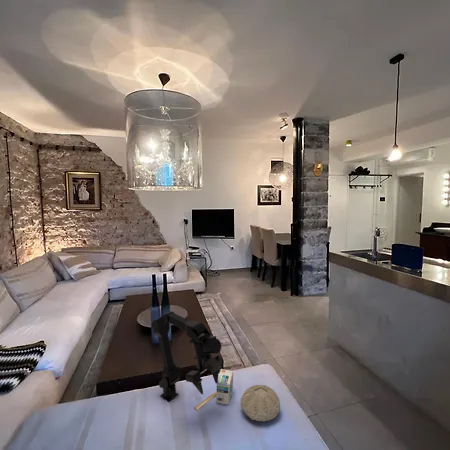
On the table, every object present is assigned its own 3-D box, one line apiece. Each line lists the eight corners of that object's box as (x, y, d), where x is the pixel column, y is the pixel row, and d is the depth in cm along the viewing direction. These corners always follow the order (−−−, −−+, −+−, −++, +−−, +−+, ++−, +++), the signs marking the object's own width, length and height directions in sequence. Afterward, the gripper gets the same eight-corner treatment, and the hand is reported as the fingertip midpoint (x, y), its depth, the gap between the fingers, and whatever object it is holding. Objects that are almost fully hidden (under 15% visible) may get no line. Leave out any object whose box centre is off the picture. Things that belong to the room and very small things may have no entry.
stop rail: (194, 408, 128) (194, 407, 128) (229, 381, 148) (229, 380, 148) (197, 410, 127) (197, 409, 127) (232, 382, 146) (232, 381, 146)
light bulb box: (229, 405, 130) (230, 384, 129) (215, 403, 131) (216, 382, 130) (232, 390, 140) (233, 370, 139) (220, 387, 141) (220, 368, 140)
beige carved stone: (247, 431, 115) (247, 408, 114) (236, 402, 132) (235, 382, 131) (286, 423, 119) (286, 401, 118) (270, 395, 136) (270, 376, 135)
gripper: (198, 363, 109) (207, 403, 108) (228, 344, 123) (236, 379, 122) (181, 361, 116) (189, 399, 115) (211, 343, 131) (218, 377, 129)
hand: (209, 388), depth 120 cm, fingers open, 9 cm apart
